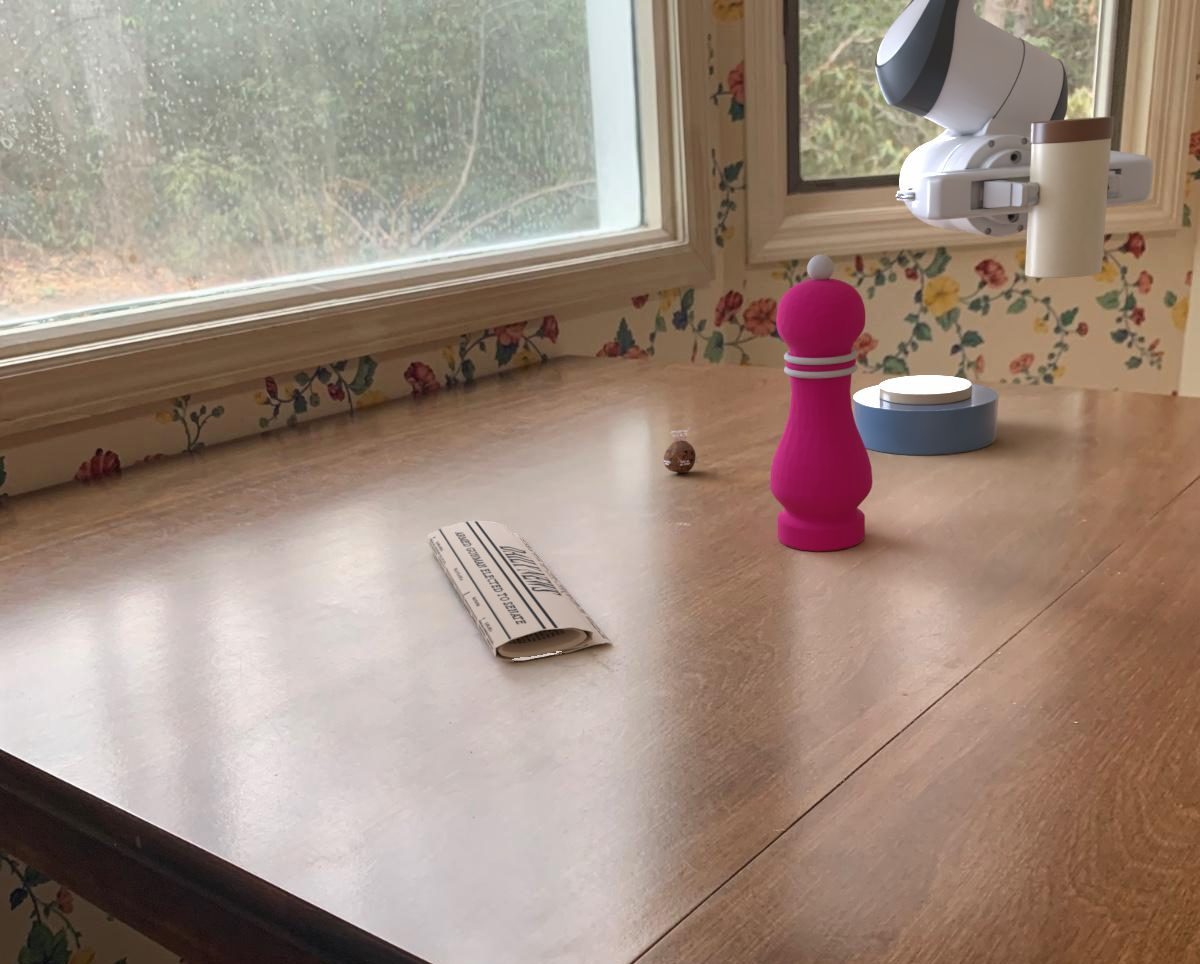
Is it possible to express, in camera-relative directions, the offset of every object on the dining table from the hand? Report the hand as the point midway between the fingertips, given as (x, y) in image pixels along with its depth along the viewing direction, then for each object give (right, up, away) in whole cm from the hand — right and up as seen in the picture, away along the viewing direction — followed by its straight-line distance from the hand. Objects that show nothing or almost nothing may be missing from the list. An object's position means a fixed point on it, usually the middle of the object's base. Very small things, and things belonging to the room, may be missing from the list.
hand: (1074, 190), depth 98 cm
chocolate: (-31, -22, +9) cm, 39 cm away
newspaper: (-45, -33, -16) cm, 58 cm away
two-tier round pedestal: (-8, -18, +15) cm, 25 cm away
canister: (0, -6, +3) cm, 7 cm away
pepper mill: (-22, -29, -10) cm, 38 cm away
